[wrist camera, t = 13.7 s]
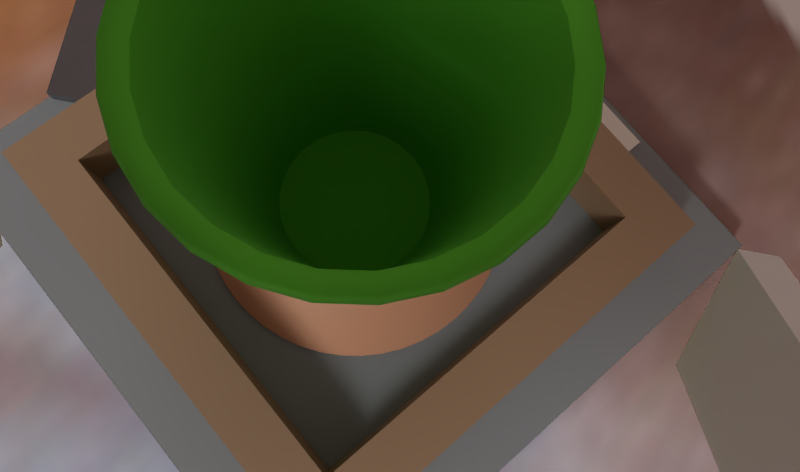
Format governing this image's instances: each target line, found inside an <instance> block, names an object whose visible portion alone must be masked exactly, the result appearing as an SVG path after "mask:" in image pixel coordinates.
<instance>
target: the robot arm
mask: <svg viewBox="0 0 800 472" xmlns="http://www.w3.org/2000/svg"><path fill="white" fill-rule="evenodd" d="M1 246H2V240H1V234H0V247H1ZM676 366H677V368H678V371H679V373H680V375H681V378H682V380H683V383H684V385H685V388H686V390H687V393H688V395H689V397H690V400H691V402H692V405H693V407H694V410H695V412H696V415H697V417H698V419H699V422H700V424H701V427H702V429H703V432H704V434H705V436H706V439H707V441H708V444H709V446H710V449H711V451H712V454H713V456H714V458H715V461H716V463H717V466H718V468H719V471H720V472H800V283H799V281H798V280H797V279H796V277H795V276H794V275H793V273H792V272H791V271H790V269H789V268H788V267H787V265H786V264H785V263H784V261H783V260H782V259H781V257H780V256H774V255H769V254H763V253H758V252H752V251H747V250H741V249H737V251H736V253H735V254H734V256H733V258H732V260H731V262H730V264H729V266H728V268H727V270H726V271H725V273H724V275H723V277H722V279H721V281H720V283H719V285H718V286H717V288H716V290H715V292H714V294H713V296H712V298H711V300H710V302H709V303H708V305H707V307H706V309H705V311H704V313H703V315H702V317H701V319H700V320H699V322H698V324H697V326H696V328H695V330H694V332H693V334H692V335H691V337H690V339H689V341H688V343H687V345H686V347H685V349H684V351H683V352H682V354H681V356H680V358H679V360H678V362H677V364H676Z"/></svg>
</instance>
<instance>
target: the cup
mask: <svg viewBox="0 0 800 472" xmlns="http://www.w3.org/2000/svg"><path fill="white" fill-rule="evenodd" d="M605 73H606V62H605V57H604V51H603V45H602V39H601V33H600V27H599V22H598V16H597V10H596V5H595V3H594V1H593V0H106V1H105V5H104V8H103V12H102V16H101V19H100V23H99V26H98V30H97V34H96V98H97V102H98V105H99V109H100V112H101V116H102V119H103V123H104V127H105V130H106V134H107V137H108V141H109V145H110V148H111V152H112V154H113V156H114V158H115V159H116V161H117V163H118V164H119V166H120V168H121V169H122V171H123V173H124V174H125V176H126V178H127V179H128V181H129V183H130V184H131V186H132V188H133V190H134V191H135V193H136V195H137V196H138V198H139V200H140V201H141V203H142V205H143V206H144V207H145V208H146V209H147V210H148V211H149V212H150V213H151V214H152V215H153V216H154V217H155V218H156V219H157V220H158V221H159V222H160V223H161V224H162V225H163V226H164V227H165V228H166V229H167V230H168V231H169V232H170V233H171V234H172V235H173V236H174V237H175V238H176V239H177V240H178V241H179V242H180V243H182V244H183V245H184V246H185V247H186V248H187V249H188V250H189V251H190V252H191V253H193V254H195V255H196V256H198V257H200V258H202V259H203V260H205V261H207V262H209V263H210V264H212V265H214V266H216V267H217V268H219V269H221V270H223V271H224V272H226V273H228V274H230V275H231V276H233V277H235V278H237V279H238V280H240V281H242V282H244V283H245V284H247V285H250V286H254V287H257V288H261V289H264V290H268V291H271V292H275V293H279V294H282V295H286V296H289V297H293V298H296V299H300V300H303V301H307V302H310V303H327V304H357V305H383V304H388V303H392V302H397V301H402V300H407V299H411V298H416V297H421V296H425V295H430V294H435V293H440V292H444V291H446V290H448V289H450V288H452V287H454V286H456V285H458V284H460V283H463V282H465V281H467V280H469V279H471V278H473V277H475V276H477V275H479V274H481V273H483V272H485V271H487V270H489V269H491V268H493V267H495V266H497V265H499V264H501V263H503V262H504V261H505V260H506V259H507V258H508V257H510V256H511V255H512V254H513V253H514V252H516V251H517V250H518V249H519V248H520V247H521V246H523V245H524V244H525V243H526V242H527V241H528V240H530V239H531V238H532V237H533V236H534V235H536V234H537V233H538V232H539V231H540V230H541V229H543V228H544V227H545V226H546V225H547V224H548V223H549V222H550V220H551V219H552V218H553V216H554V215H555V213H556V212H557V210H558V209H559V207H560V206H561V205H562V203H563V202H564V200H565V199H566V197H567V196H568V195H569V193H570V192H571V190H572V189H573V187H574V186H575V184H576V183H577V182H578V180H579V179H580V177H581V176H582V174H583V171H584V168H585V165H586V163H587V160H588V157H589V154H590V152H591V149H592V146H593V143H594V140H595V138H596V135H597V132H598V129H599V127H600V124H601V120H602V108H603V96H604V85H605Z"/></svg>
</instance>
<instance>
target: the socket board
mask: <svg viewBox="0 0 800 472" xmlns="http://www.w3.org/2000/svg"><path fill="white" fill-rule="evenodd" d="M0 233H1V234H2V236H3V237H4V238H5V240H6V241H7V242H8V244H9V245H10V246H11V248H12V249H13V250H14V252H15V253H16V254H17V256H18V257H19V258H20V260H21V261H22V262H23V264H24V265H25V266H26V268H27V269H28V270H29V272H30V273H31V274H32V276H33V277H34V278H35V280H36V281H37V282H38V284H39V285H40V286H41V288H42V289H43V290H44V292H45V293H46V294H47V296H48V297H49V298H50V300H51V301H52V302H53V304H54V305H55V306H56V308H57V309H58V310H59V312H60V313H61V314H62V316H63V317H64V318H65V320H66V321H67V322H68V324H69V325H70V326H71V328H72V329H73V330H74V332H75V333H76V334H77V336H78V337H79V338H80V340H81V341H82V342H83V344H84V345H85V346H86V348H87V349H88V350H89V352H90V353H91V354H92V356H93V357H94V358H95V360H96V361H97V362H98V364H99V365H100V366H101V368H102V369H103V370H104V372H105V373H106V374H107V376H108V377H109V378H110V380H111V381H112V382H113V384H114V385H115V386H116V388H117V389H118V390H119V392H120V393H121V394H122V396H123V397H124V398H125V400H126V401H127V402H128V404H129V405H130V406H131V408H132V409H133V410H134V412H135V413H136V414H137V416H138V417H139V418H140V420H141V421H142V422H143V424H144V425H145V426H146V428H147V429H148V430H149V432H150V433H151V434H152V436H153V437H154V438H155V440H156V441H157V442H158V444H159V445H160V446H161V448H162V449H163V450H164V452H165V453H166V454H167V456H168V457H169V458H170V460H171V461H172V462H173V464H174V465H175V466H176V468H177V469H178V470H179V472H499V471H500V470H501V469H502V468H503V467H504V466H505V465H506V464H507V463H508V462H509V461H510V460H512V459H513V458H514V457H515V456H516V455H517V454H518V453H519V452H520V451H521V450H522V449H523V448H524V447H526V446H527V445H528V444H529V443H530V442H531V441H532V440H533V439H534V438H535V437H536V436H537V435H538V434H540V433H541V432H542V431H543V430H544V429H545V428H546V427H547V426H548V425H549V424H550V423H551V422H553V421H554V420H555V419H556V418H557V417H558V416H559V415H560V414H561V413H562V412H563V411H564V410H565V409H567V408H568V407H569V406H570V405H571V404H572V403H573V402H574V401H575V400H576V399H577V398H578V397H579V396H581V395H582V394H583V393H584V392H585V391H586V390H587V389H588V388H589V387H590V386H591V385H592V384H593V383H595V382H596V381H597V380H598V379H599V378H600V377H601V376H602V375H603V374H604V373H605V372H606V371H608V370H609V369H610V368H611V367H612V366H613V365H614V364H615V363H616V362H617V361H618V360H619V359H620V358H622V357H623V356H624V355H625V354H626V353H627V352H628V351H629V350H630V349H631V348H632V347H633V346H634V345H636V344H637V343H638V342H639V341H640V340H641V339H642V338H643V337H644V336H645V335H646V334H647V333H649V332H650V331H651V330H652V329H653V328H654V327H655V326H656V325H657V324H658V323H659V322H660V321H661V320H663V319H664V318H665V317H666V316H667V315H668V314H669V313H670V312H671V311H672V310H673V309H674V308H675V307H677V306H678V305H679V304H680V303H681V302H682V301H683V300H684V299H685V298H686V297H687V296H688V295H690V294H691V293H692V292H693V291H694V290H695V289H696V288H697V287H698V286H699V285H700V284H701V283H702V282H704V281H705V280H706V279H707V278H708V277H709V276H710V275H711V274H712V273H713V272H714V271H715V270H716V269H718V268H719V267H720V266H721V265H722V264H723V263H724V262H725V261H726V260H727V259H728V258H729V257H730V256H732V255H733V254H734V253H735V252H736V251H737V249H739V248H740V247H741V246H742V245H741V243H740V242H739V241H738V240H737V239H736V238H735V237H734V236H733V235H732V234H731V233H730V232H729V231H728V229H727V228H726V227H725V226H724V225H723V224H722V223H721V222H720V221H719V220H718V219H717V218H716V217H715V215H714V214H713V213H712V212H711V211H710V210H709V209H708V208H707V207H706V206H705V205H704V204H703V202H702V201H701V200H700V199H699V198H698V197H697V196H696V195H695V194H694V193H693V192H692V191H691V190H690V188H689V187H688V186H687V185H686V184H685V183H684V182H683V181H682V180H681V179H680V178H679V177H678V176H677V174H676V173H675V172H674V171H673V170H672V169H671V168H670V167H669V166H668V165H667V164H666V163H665V161H664V160H663V159H662V158H661V157H660V156H659V155H658V154H657V153H656V152H655V151H654V150H653V149H652V147H651V146H650V145H649V144H648V143H647V142H646V141H645V140H644V139H643V138H642V137H641V136H640V135H639V133H638V132H637V131H636V130H635V129H634V128H633V127H632V126H631V125H630V124H629V123H628V122H627V120H626V119H625V118H624V117H623V116H622V115H621V114H620V113H619V112H618V111H617V110H616V109H615V108H614V106H613V105H612V104H611V103H610V102H609V101H608V100H607V99H606V98H605V97H604V96H603V108H602V120H601V124H600V127H599V129H598V132H597V135H596V138H595V140H594V143H593V146H592V149H591V152H590V154H589V157H588V160H587V163H586V165H585V168H584V171H583V174H582V176H581V177H580V179H579V180H578V182H577V183H576V184H575V186H574V187H573V189H572V190H571V192H570V193H569V195H568V196H567V197H566V199H565V200H564V202H563V203H562V205H561V206H560V207H559V209H558V210H557V212H556V213H555V215H554V216H553V218H552V219H551V220H550V222H549V223H548V224H547V225H546V226H545V227H544V228H543V229H541V230H540V231H539V232H538V233H537V234H536V235H534V236H533V237H532V238H531V239H530V240H528V241H527V242H526V243H525V244H524V245H523V246H521V247H520V248H519V249H518V250H517V251H516V252H514V253H513V254H512V255H511V256H510V257H508V258H507V259H506V260H505V261H504V262H503V263H501V264H499V265H497V266H495V267H493V268H491V269H489V270H487V271H485V272H483V273H481V274H479V275H477V276H475V277H473V278H471V279H469V280H467V281H465V282H463V283H460V284H458V285H456V286H454V287H452V288H450V289H448V290H446V291H444V292H440V293H435V294H430V295H425V296H421V297H416V298H411V299H407V300H402V301H397V302H392V303H388V304H383V305H357V304H327V303H310V302H307V301H303V300H300V299H296V298H293V297H289V296H286V295H282V294H279V293H275V292H271V291H268V290H264V289H261V288H257V287H254V286H250V285H247V284H245V283H244V282H242V281H240V280H238V279H237V278H235V277H233V276H231V275H230V274H228V273H226V272H224V271H223V270H221V269H219V268H217V267H216V266H214V265H212V264H210V263H209V262H207V261H205V260H203V259H202V258H200V257H198V256H196V255H195V254H193V253H191V252H190V251H189V250H188V249H187V248H186V247H185V246H184V245H183V244H182V243H180V242H179V241H178V240H177V239H176V238H175V237H174V236H173V235H172V234H171V233H170V232H169V231H168V230H167V229H166V228H165V227H164V226H163V225H162V224H161V223H160V222H159V221H158V220H157V219H156V218H155V217H154V216H153V215H152V214H151V213H150V212H149V211H148V210H147V209H146V208H145V207H144V206H143V205H142V203H141V201H140V200H139V198H138V196H137V195H136V193H135V191H134V190H133V188H132V186H131V184H130V183H129V181H128V179H127V178H126V176H125V174H124V173H123V171H122V169H121V168H120V166H119V164H118V163H117V161H116V159H115V158H114V156H113V154H112V152H111V148H110V145H109V141H108V137H107V134H106V130H105V127H104V123H103V119H102V116H101V112H100V109H99V105H98V102H97V98H96V89H94V90H93V91H91V92H90V93H88V94H87V95H85V96H84V97H82V98H81V99H80V100H78V101H77V102H75V103H71V102H66V101H61V100H55V99H53V98H52V97H49V98H47V99H46V100H44V101H43V102H41V103H40V104H38V105H37V106H35V107H34V108H32V109H31V110H29V111H28V112H26V113H25V114H23V115H22V116H20V117H19V118H17V119H16V120H14V121H13V122H11V123H10V124H8V125H7V126H5V127H4V128H2V129H1V130H0Z"/></svg>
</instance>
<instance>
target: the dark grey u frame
mask: <svg viewBox="0 0 800 472" xmlns="http://www.w3.org/2000/svg"><path fill="white" fill-rule="evenodd" d="M105 1H106V0H76V3H75V6H74V9H73V12H72V15H71V18H70V21H69V24H68V28H67V31H66V34H65V37H64V40H63V43H62V46H61V49H60V53H59V56H58V59H57V62H56V65H55V68H54V71H53V74H52V78H51V81H50V84H49V87H48V90H47V94H48V95H49V96H50V97H52V98H53V99H55V100H61V101H66V102H71V103H75V102H77V101H78V100H80V99H81V98H82V97H84V96H85V95H87V94H88V93H90V92H91V91H93V90H94V89H96V34H97V30H98V26H99V23H100V19H101V16H102V12H103V8H104V5H105Z"/></svg>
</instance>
